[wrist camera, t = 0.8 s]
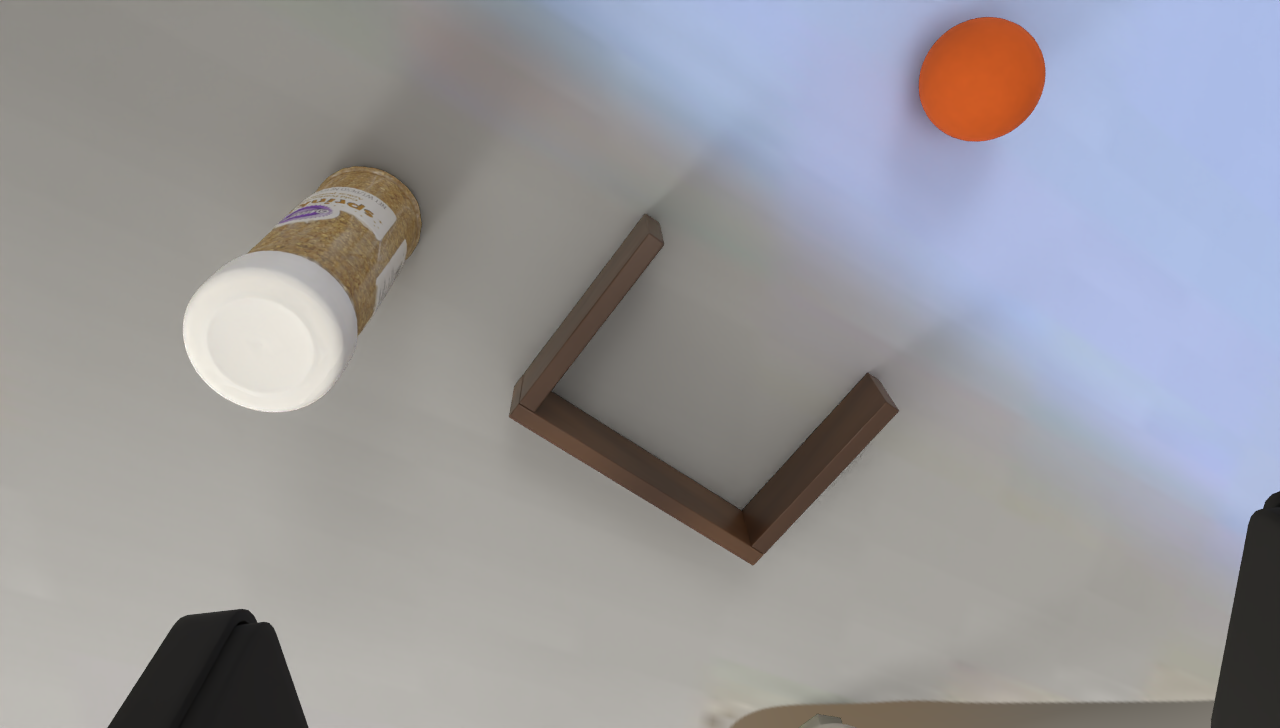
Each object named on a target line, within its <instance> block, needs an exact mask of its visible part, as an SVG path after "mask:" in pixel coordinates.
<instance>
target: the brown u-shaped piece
mask: <svg viewBox="0 0 1280 728" xmlns="http://www.w3.org/2000/svg"><path fill="white" fill-rule="evenodd" d="M663 246H664V241H663V236H662V232H661V228H660V224H659V222H657V221H656V220H654V219H653V218H652V217H650V216H649V215H647V214H644V215H643V217H642V218H641V219H640V221H639V222H638V223H637V225H636V226H635V227H634V229H633V230H632V231H631V233H630V234H629V235H628V237H627V238H626V239H625V241H624V242H623V243H622V245H621V246H620V247H619V249H618V250H617V251H616V253H615V254H614V255H613V256H612V258H611V259H610V260H609V262H608V263H607V264H606V266H605V267H604V268H603V270H602V271H601V272H600V274H599V275H598V276H597V278H596V279H595V280H594V282H593V283H592V284H591V286H590V287H589V288H588V290H587V291H586V292H585V294H584V295H583V296H582V298H581V299H580V300H579V302H578V303H577V304H576V305H575V307H574V308H573V309H572V311H571V312H570V313H569V315H568V316H567V317H566V319H565V320H564V321H563V323H562V324H561V325H560V327H559V328H558V329H557V331H556V332H555V333H554V335H553V336H552V337H551V339H550V340H549V341H548V343H547V344H546V345H545V347H544V348H543V349H542V351H541V352H540V353H539V354H538V356H537V357H536V358H535V360H534V361H533V362H532V364H531V365H530V366H529V368H528V369H527V370H526V372H525V373H524V375H522V377H521V378H520V379H519V381H518V382H517V383H516V385H515V386H514V391H513V397H512V402H511V408H510V413H509V417H510V418H511V419H513V420H514V421H516V422H518V423H519V424H521V425H523V426H524V427H526V428H528V429H529V430H531V431H533V432H534V433H536V434H538V435H539V436H541V437H542V438H544V439H546V440H547V441H549V442H551V443H552V444H554V445H556V446H557V447H559V448H561V449H562V450H564V451H565V452H567V453H569V454H570V455H572V456H574V457H575V458H577V459H579V460H580V461H582V462H584V463H585V464H587V465H588V466H590V467H592V468H593V469H595V470H597V471H598V472H600V473H602V474H603V475H605V476H607V477H608V478H610V479H612V480H613V481H615V482H616V483H618V484H620V485H621V486H623V487H625V488H626V489H628V490H630V491H631V492H633V493H635V494H636V495H638V496H639V497H641V498H643V499H644V500H646V501H648V502H649V503H651V504H653V505H654V506H656V507H658V508H659V509H661V510H662V511H664V512H666V513H667V514H669V515H671V516H672V517H674V518H676V519H677V520H679V521H681V522H682V523H684V524H686V525H687V526H689V527H690V528H692V529H694V530H695V531H697V532H699V533H700V534H702V535H704V536H705V537H707V538H709V539H710V540H712V541H713V542H715V543H717V544H718V545H720V546H722V547H723V548H725V549H727V550H728V551H730V552H732V553H733V554H735V555H736V556H738V557H740V558H741V559H743V560H745V561H746V562H748V563H750V564H751V565H754V564H755V563H756V562H757V561H758V560H759V559H760V558H761V557H762V556H763V554H765V553H766V552H767V551H768V550H769V549H770V548H771V546H772V545H773V544H774V543H775V542H776V541H777V540H778V539H779V538H780V537H781V536H782V535H783V534H784V533H785V532H786V531H787V529H788V528H789V527H790V526H791V525H792V524H793V523H794V522H795V521H796V520H797V519H798V518H799V517H800V516H801V515H802V514H803V513H804V511H805V510H806V509H807V508H808V507H809V506H810V505H811V504H812V503H813V502H814V501H815V500H816V499H817V498H818V497H819V496H820V494H821V493H822V492H823V491H824V490H825V489H826V488H827V487H828V486H829V485H830V484H831V483H832V482H833V481H834V480H835V479H836V478H837V476H838V475H839V474H840V473H841V472H842V471H843V470H844V469H845V468H846V467H847V466H848V465H849V464H850V463H851V462H852V461H853V459H854V458H855V457H856V456H857V455H858V454H859V453H860V452H861V451H862V450H863V449H864V448H865V447H866V446H867V445H868V444H869V442H870V441H871V440H872V439H873V438H874V437H875V436H876V435H877V434H878V433H879V432H880V431H881V430H882V429H883V428H884V427H885V426H886V424H887V423H888V422H889V421H890V420H891V419H892V418H893V417H894V416H895V415H896V414H897V413H898V412H899V410H898V408H897V407H896V405H895V404H894V402H893V401H892V399H891V398H890V396H889V395H888V393H887V391H886V390H885V388H884V387H883V385H882V384H881V382H880V381H879V380H878V379H876V378H875V377H873V376H872V375H871V374H869V373H867V374H866V375H865V376H864V377H863V378H862V380H861V381H860V382H859V383H858V384H857V385H856V386H855V387H854V388H853V389H852V390H851V392H850V393H849V394H848V395H847V396H846V397H845V398H844V399H843V400H842V401H841V403H840V404H839V405H838V406H837V407H836V408H835V409H834V410H833V411H832V412H831V414H830V415H829V416H828V417H827V418H826V419H825V420H824V421H823V422H822V423H821V424H820V426H819V427H818V428H817V429H816V430H815V431H814V432H813V433H812V434H811V435H810V437H809V438H808V439H807V440H806V441H805V442H804V443H803V444H802V445H801V446H800V448H799V449H798V450H797V451H796V452H795V453H794V454H793V455H792V456H791V457H790V458H789V460H788V461H787V462H786V463H785V464H784V465H783V466H782V467H781V468H780V469H779V471H778V472H777V473H776V474H775V475H774V476H773V477H772V478H771V479H770V480H769V482H768V483H767V484H766V485H765V486H764V487H763V488H762V489H761V490H760V491H759V492H758V494H757V495H756V496H755V497H754V498H753V499H752V500H751V501H750V502H749V503H748V505H747V506H746V507H745V508H744V509H743V510H742V511H741V510H739V509H738V508H736V507H735V506H733V505H732V504H730V503H728V502H727V501H725V500H724V499H722V498H720V497H719V496H717V495H716V494H714V493H712V492H711V491H709V490H708V489H706V488H704V487H703V486H701V485H700V484H698V483H696V482H695V481H693V480H692V479H690V478H688V477H687V476H685V475H684V474H682V473H680V472H679V471H677V470H676V469H674V468H673V467H671V466H669V465H668V464H666V463H665V462H663V461H661V460H660V459H658V458H657V457H655V456H653V455H652V454H650V453H649V452H647V451H645V450H644V449H642V448H641V447H639V446H637V445H636V444H634V443H633V442H631V441H629V440H628V439H626V438H625V437H623V436H621V435H620V434H618V433H617V432H615V431H614V430H612V429H610V428H609V427H607V426H606V425H604V424H602V423H601V422H599V421H598V420H596V419H594V418H593V417H591V416H590V415H588V414H586V413H585V412H583V411H582V410H580V409H578V408H577V407H575V406H574V405H572V404H570V403H569V402H567V401H566V400H564V399H562V398H561V397H559V396H558V395H556V394H555V393H553V392H551V390H552V389H553V388H554V387H555V385H556V384H557V383H558V381H559V380H560V379H561V378H562V376H563V375H564V374H565V372H566V371H567V370H568V368H569V367H570V366H571V365H572V363H573V362H574V361H575V359H576V358H577V357H578V356H579V354H580V353H581V352H582V350H583V349H584V348H585V347H586V345H587V344H588V343H589V341H590V340H591V339H592V337H593V336H594V335H595V334H596V332H597V331H598V330H599V328H600V327H601V326H602V325H603V323H604V322H605V321H606V319H607V318H608V317H609V315H610V314H611V313H612V312H613V310H614V309H615V308H616V306H617V305H618V304H619V303H620V301H621V300H622V299H623V297H624V296H625V295H626V294H627V292H628V291H629V290H630V288H631V287H632V286H633V284H634V283H635V282H636V281H637V279H638V278H639V277H640V275H641V274H642V273H643V272H644V270H645V269H646V268H647V266H648V265H649V264H650V262H651V261H652V260H653V259H654V257H655V256H656V255H657V253H658V252H659V251H660V250H661V248H662V247H663Z"/></svg>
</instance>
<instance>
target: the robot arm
mask: <svg viewBox="0 0 1280 728" xmlns="http://www.w3.org/2000/svg"><path fill="white" fill-rule="evenodd" d="M108 728H308V725H307V722H306V719H305V716H304V713H303V710H302V707H301V704H300V701H299V699H298V696H297V693H296V690H295V687H294V684H293V681H292V678H291V675H290V672H289V669H288V667H287V664H286V661H285V658H284V655H283V652H282V649H281V646H280V643H279V640H278V637H277V634H276V632H275V630H274V628H273V627H272V626H271V625H270V623H267V622H260V623H257V621H256V619H255V617H254V615H253V614H252V613H251V612H250V611H249V610H245V609H238V610H229V611H220V612H211V613H202V614H194V615H187V616H184V617H182V618H180V619H179V620H178V621H177V622H176V623H175V625H174V626H173V627H172V629H171V630H170V632H169V633H168V635H167V636H166V638H165V639H164V641H163V643H162V644H161V646H160V647H159V649H158V650H157V652H156V653H155V655H154V657H153V658H152V660H151V661H150V663H149V664H148V666H147V667H146V669H145V670H144V672H143V674H142V675H141V677H140V678H139V680H138V681H137V683H136V684H135V686H134V687H133V689H132V691H131V692H130V694H129V695H128V697H127V698H126V700H125V701H124V703H123V705H122V706H121V708H120V709H119V711H118V712H117V714H116V715H115V717H114V718H113V720H112V722H111V723H110V725H109V726H108ZM1211 728H1280V491H1279V492H1277V493H1274V494H1272V495H1271V496H1270V497H1269V498H1268V499H1267V500H1266V502H1265V505H1264V507H1263V509H1261V510H1258V511H1256V512H1255V513H1254V514H1253V515H1252V516H1251V518H1250V521H1249V524H1248V529H1247V535H1246V540H1245V545H1244V550H1243V556H1242V561H1241V566H1240V571H1239V577H1238V582H1237V587H1236V592H1235V598H1234V603H1233V608H1232V613H1231V619H1230V624H1229V629H1228V634H1227V640H1226V645H1225V650H1224V655H1223V661H1222V666H1221V671H1220V676H1219V682H1218V687H1217V692H1216V697H1215V703H1214V708H1213V713H1212V719H1211Z"/></svg>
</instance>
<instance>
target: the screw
mask: <svg viewBox="0 0 1280 728" xmlns="http://www.w3.org/2000/svg"><path fill="white" fill-rule="evenodd" d="M799 728H856V727H853V726H850V725H846V724H842V721H841V718H838V717H832V716H826V715H820V714H816V715H815V716H814V717H812V718H811V719H809V720H808V721H807V722H805V723H804V724H803V725H801V726H800V727H799Z"/></svg>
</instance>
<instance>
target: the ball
mask: <svg viewBox="0 0 1280 728" xmlns="http://www.w3.org/2000/svg"><path fill="white" fill-rule="evenodd" d="M1044 83H1045V63H1044V58H1043V55H1042V52H1041V50H1040V48H1039V46H1038V44H1037V42H1036V41H1035V39H1034V38H1033V37H1032V36H1031V35H1030V34H1029V33H1028V32H1027V31H1026V30H1025V29H1024V28H1022V27H1021V26H1019V25H1017V24H1016V23H1014V22H1011V21H1008V20H1005V19H1001V18H994V17H983V18H976V19H971V20H968V21H966V22H963V23H960V24H958V25H956V26H954V27H953V28H951V29H950V30H948V31H947V32H946V33H944V34H943V35H942V36H941V37H940V38H939V39H938V40H937V41H936V42H935V43H934V45H933V46H932V47H931V49H930V50H929V52H928V54H927V55H926V57H925V60H924V62H923V64H922V68H921V71H920V77H919V95H920V100H921V103H922V106H923V109H924V111H925V112H926V114H927V116H928V118H929V119H930V120H931V122H932V123H933V124H934V125H935V126H936V127H937V128H939V129H940V130H941V131H943V132H944V133H946V134H947V135H949V136H951V137H954V138H957V139H960V140H965V141H987V140H991V139H995V138H998V137H1000V136H1003V135H1005V134H1007V133H1009V132H1011V131H1012V130H1014V129H1015V128H1017V127H1018V126H1019V125H1020V124H1022V123H1023V122H1024V121H1025V120H1026V119H1027V118H1028V116H1029V115H1030V114H1031V113H1032V111H1033V110H1034V108H1035V107H1036V105H1037V103H1038V101H1039V99H1040V97H1041V94H1042V91H1043V87H1044Z"/></svg>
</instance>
